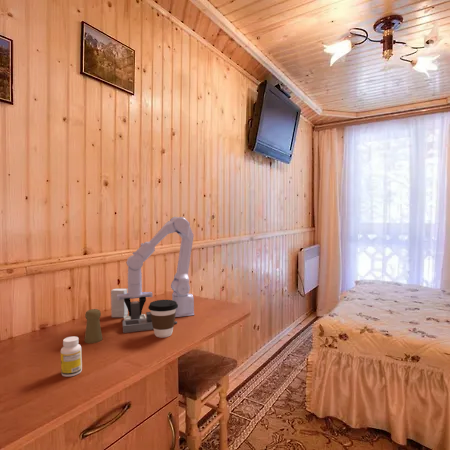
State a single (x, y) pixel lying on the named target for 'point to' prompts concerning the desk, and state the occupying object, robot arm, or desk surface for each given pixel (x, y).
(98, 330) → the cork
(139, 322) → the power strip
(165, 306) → the coffee cup
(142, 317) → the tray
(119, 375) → the desk surface
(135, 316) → the plug
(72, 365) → the supplement bottle
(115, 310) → the skincare box
